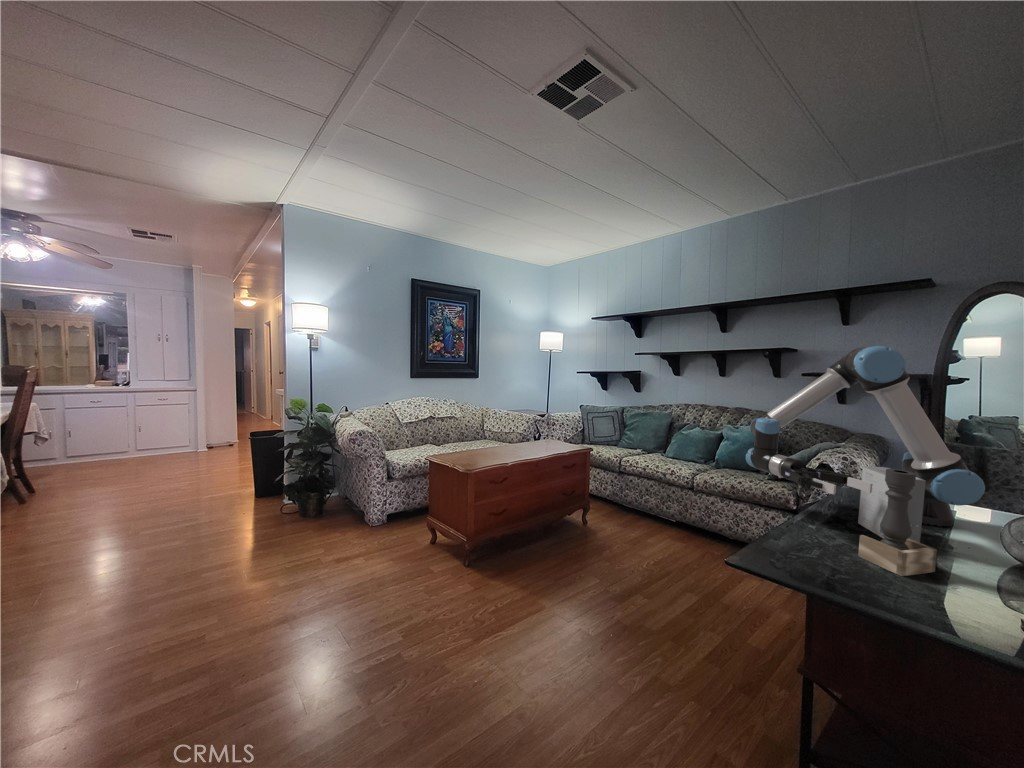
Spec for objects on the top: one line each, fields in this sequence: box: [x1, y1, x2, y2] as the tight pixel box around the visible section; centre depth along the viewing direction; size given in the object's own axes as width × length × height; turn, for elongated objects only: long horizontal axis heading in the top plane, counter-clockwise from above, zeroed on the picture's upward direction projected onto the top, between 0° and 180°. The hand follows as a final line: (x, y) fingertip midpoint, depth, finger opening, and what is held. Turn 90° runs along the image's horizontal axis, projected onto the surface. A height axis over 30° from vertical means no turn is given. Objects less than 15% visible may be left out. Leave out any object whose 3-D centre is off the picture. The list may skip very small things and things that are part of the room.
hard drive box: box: [857, 465, 926, 543], centre depth 123 cm, size 16×8×20 cm, turn 168°
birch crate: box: [857, 534, 938, 577], centre depth 105 cm, size 11×10×6 cm
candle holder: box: [879, 468, 916, 550], centre depth 105 cm, size 6×6×25 cm
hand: (853, 489), depth 115 cm, fingers open, 13 cm apart
